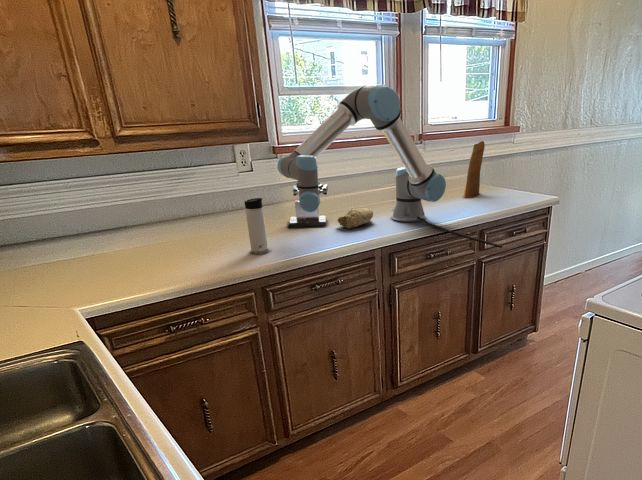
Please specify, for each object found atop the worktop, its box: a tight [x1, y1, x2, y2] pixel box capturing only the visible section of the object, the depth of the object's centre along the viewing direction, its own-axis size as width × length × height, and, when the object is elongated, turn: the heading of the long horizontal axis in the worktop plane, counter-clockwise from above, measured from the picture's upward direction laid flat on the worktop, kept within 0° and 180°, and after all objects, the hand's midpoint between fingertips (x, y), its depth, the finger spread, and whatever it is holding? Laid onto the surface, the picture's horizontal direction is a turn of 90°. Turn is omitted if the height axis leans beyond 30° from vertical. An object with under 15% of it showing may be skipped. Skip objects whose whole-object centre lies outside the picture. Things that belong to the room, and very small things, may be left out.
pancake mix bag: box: [463, 140, 486, 199], centre depth 284 cm, size 7×19×28 cm, turn 148°
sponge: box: [336, 207, 374, 230], centre depth 233 cm, size 13×8×20 cm
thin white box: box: [294, 199, 320, 220], centre depth 233 cm, size 10×2×8 cm, turn 98°
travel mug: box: [244, 197, 269, 255], centre depth 193 cm, size 6×7×20 cm
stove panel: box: [289, 215, 327, 229], centre depth 236 cm, size 16×14×2 cm
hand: (310, 184), depth 223 cm, fingers open, 7 cm apart
